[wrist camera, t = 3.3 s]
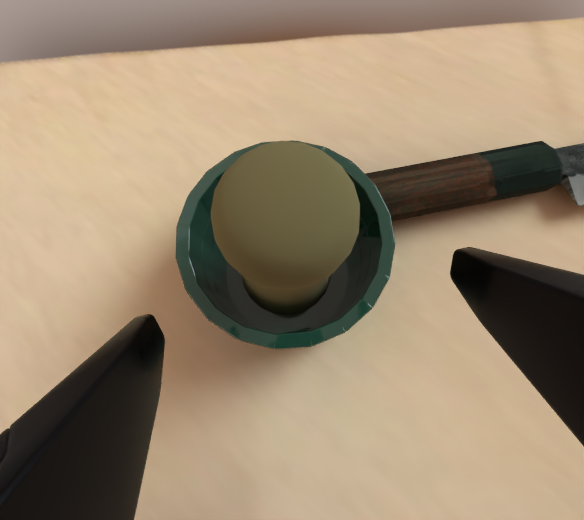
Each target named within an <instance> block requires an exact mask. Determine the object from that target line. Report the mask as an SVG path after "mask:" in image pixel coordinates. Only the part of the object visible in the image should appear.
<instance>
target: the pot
mask: <svg viewBox="0 0 584 520" xmlns="http://www.w3.org/2000/svg"><path fill="white" fill-rule="evenodd" d="M277 142H278V141H277ZM290 142H300V141H290ZM267 143H273V142H264V143H263V142H262V143H259V144H256V145H253V146H250V147H247V148H245V149H242V150H239V151H236V152H234V153H232V154H231V155H229V156H228V157H227V158H225V159H224V160H222V161H221V162H219V163H218V164H217V165H215V166H214V167H212V168H211V169H209V170H208V171H207V172H206V173H205V174H204V176H203V177H202V178H201V180H200V181H199V182H198V183H197V185H196V186H195V187H194V189H193V190H192V191H191V192H190V194H189V195H188V197H187V200H186V202H185V205H184V208H183V210H182V213H181V216H180V219H179V221H178V224H177V234H176V261H177V264H178V267H179V270H180V274H181V277H182V280H183V283H184V286H185V289H186V291H187V293H188V295H189V296H190V297H191V299H192V300H193V301H194V303H195V304H196V305H197V306H198V308H199V309H200V310H201V312H202V313H203V314H204V316H205V317H206V318H207V319H208V320H209V321H210V322H212V323H213V324H215V325H216V326H218V327H219V328H221V329H222V330H224V331H225V332H227V333H228V334H230V335H231V336H233V337H234V338H236V339H238V340H240V341H244V342H248V343H251V344H255V345H259V346H263V347H267V348H271V349H287V348H301V347H311V346H315V345H317V344H319V343H322V342H324V341H326V340H329V339H331V338H333V337H336V336H338V335H340V334H343V333H345V331H348V330H349V329H350V328H351V327H352V326H353V325H355V324H356V323H357V322H358V321H359V320H360V319H361V318H362V317H363V316H365V315H366V314H367V313H368V312H369V311H370V310H371V309H372V307H374V305H375V303H376V302H377V300H378V298H379V296H380V294H381V292H382V291H383V289H384V287H385V285H386V283H387V281H388V280H389V277H390V273H391V267H392V261H393V255H394V249H395V239H394V233H393V227H392V221H391V215H390V212H389V210H388V208H387V206H386V204H385V202H384V200H383V198H382V196H381V195H380V193H379V191H378V189H377V187H376V185H374V183H373V182H372V181H371V180H370V179H369V178H368V177H367V176H366V175H365V174H364V173H363V172H362V171H361V170H360V169H359V168H358V167H357V166H356V165H355V164H354V163H352V161H350V160H349V159H347V158H345V157H343V156H341V155H339V154H337V153H336V152H334V151H332V150H330V149H328V148H326V147H322V146H318V145H313V144H309V143H305V144H307V145H310V146H312V147H315V148H317V149H320V150H322V151H323V152H325V153H326V154H327V155H329V156H330V157H331V158H332V159H334V160H335V161H336V162H338V163H339V164H340V165H341V166H342V167H343V169H344V170H345V171H346V173H347V174H348V176H349V177H350V179H351V180H352V182H353V183H354V186H355V189H356V192H357V196H358V199H359V203H360V219H359V233H358V236H357V238H356V241H355V243H354V246H353V248H352V251H351V253H350V254H349V256H348V257H347V258H346V259H345V260H344V261H343V263H342V264H341V265H340V266H339V267H338V268H337V269H336V271H335V272H334V273H333V274H331V278H330V282H329V285H328V287H327V290H326V292H325V294H324V295H323V296H322V298H321V299H320V300H319V301H318V302H317V303H316V305H314V306H312V307H311V308H309V309H307V310H306V311H304V312H301V313H296V314H292V315H283V314H274V313H272V312H269V311H267V310H265V309H263V308H261V307H260V306H258V305H257V304H256V303H255V302H254V301H253V300H252V299H251V298H250V297H249V295H248V293H247V291H246V289H245V288H244V286H243V281H242V275H241V274H240V273H239V272H238V271H237V270H236V269H235V268H233V267H232V266H231V265H230V264H229V263H228V262H227V261H226V260H225V258H224V256H223V254H222V252H221V251H220V249H219V247H218V245H217V243H216V241H215V239H214V233H213V227H212V221H211V208H212V202H213V196H214V190H215V188H216V186H217V185H218V183H219V181H220V179H221V177H222V175H223V174H224V172H225V171H226V170H227V169H228V168H229V167H230V166H231V165H232V164H233V163H234V162H235V161H236V160H237V159H238V158H239V157H240V156H241V155H243V154H244V153H246V152H248V151H250V150H252V149H254V148H256V147H258V146H260V145H262V144H267ZM300 143H304V142H300Z"/></svg>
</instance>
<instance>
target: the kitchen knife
mask: <svg viewBox="0 0 584 520" xmlns="http://www.w3.org/2000/svg"><path fill="white" fill-rule="evenodd" d="M365 175H366V176H367V177H368V178H369V179H370V180H371V181H372V182H373V183H374V185H376V187H377V189H378V191H379V193H380V195H381V196H382V198H383V200H384V202H385V204H386V206H387V208H388V210H389V212H390V215H391V221H393V220H398V219H403V218H408V217H413V216H419V215H424V214H429V213H434V212H439V211H444V210H449V209H454V208H459V207H464V206H469V205H475V204H480V203H485V202H490V201H495V200H500V199H505V198H510V197H515V196H520V195H525V194H530V193H536V192H541V191H546V190H548V189H550V188H552V187H554V186H555V185H557V184H559V183H561V184H562V185H563V187H564V188H565V189H566V191H567V192H568V193H569V195H570V196H571V198H572V199H573V200H574V202H575V203H576V204H577V206H581V205H584V143H583V144H578V145H573V146H567V147H562V148H557V149H553V148H552V147H550V146H549V145H547V144H546V143H544V142H543V141H539V142H533V143H528V144H522V145H517V146H512V147H506V148H501V149H496V150H490V151H485V152H479V153H474V154H469V155H463V156H458V157H453V158H447V159H442V160H437V161H431V162H426V163H420V164H415V165H410V166H404V167H399V168H394V169H388V170H383V171H377V172H372V173H367V174H365Z"/></svg>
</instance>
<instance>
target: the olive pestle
mask: <svg viewBox="0 0 584 520" xmlns="http://www.w3.org/2000/svg"><path fill="white" fill-rule="evenodd" d="M359 219H360V203H359V199H358V196H357V192H356V189H355V186H354V183H353V182H352V180H351V179H350V177H349V176H348V174H347V173H346V171H345V170H344V169H343V167H342V166H341V165H340V164H339V163H338V162H336V161H335V160H334V159H332V158H331V157H330V156H329V155H327V154H326V153H325V152H323V151H322V150H320V149H317V148H315V147H312V146H310V145H307V144H305V143H300V142H290V141H278V142H273V143H267V144H262V145H260V146H258V147H256V148H254V149H252V150H250V151H248V152H246V153H244V154H243V155H241V156H240V157H239V158H238V159H237V160H236V161H235V162H234V163H233V164H232V165H231V166H230V167H229V168H228V169H227V170H226V171H225V172H224V174H223V175H222V177H221V179H220V181H219V183H218V185H217V186H216V188H215V190H214V196H213V202H212V208H211V221H212V227H213V233H214V239H215V241H216V243H217V245H218V247H219V249H220V251H221V252H222V254H223V256H224V258H225V260H226V261H227V262H228V263H229V264H230V265H231V266H232V267H233V268H235V269H236V270H237V271H238V272H239V273H240V274H241V275H242V281H243V286H244V288H245V289H246V291H247V293H248V295H249V297H250V298H251V299H252V300H253V301H254V302H255V303H256V304H257V305H258V306H260V307H261V308H263V309H265V310H267V311H269V312H272V313H274V314H283V315H292V314H296V313H301V312H304V311H306V310H307V309H309V308H311V307H312V306H314V305H316V303H317V302H318V301H319V300H320V299H321V298H322V296H323V295H324V294H325V292H326V290H327V287H328V285H329V282H330V278H331V274H333V273H334V272H335V271H336V269H337V268H338V267H339V266H340V265H341V264H342V263H343V261H344V260H345V259H346V258H347V257H348V256H349V254H350V253H351V251H352V248H353V246H354V243H355V241H356V238H357V236H358V233H359Z"/></svg>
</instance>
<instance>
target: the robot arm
mask: <svg viewBox="0 0 584 520" xmlns="http://www.w3.org/2000/svg"><path fill="white" fill-rule="evenodd" d="M450 275H451V279H452V281H453V282H454V284H455V285H456V287H457V288H458V290H459V291H460V293H461V294H462V296H463V297H464V299H465V300H466V302H467V303H468V305H469V306H470V308H471V309H472V311H473V312H474V314H475V315H476V317H477V318H478V319H479V321H480V322H481V323H482V324H483V326H484V327H485V328H486V329H487V331H488V332H489V333H490V334H491V335H492V337H493V338H494V339H495V340H496V341H497V343H498V344H499V345H500V346H501V347H502V349H503V350H504V351H505V352H506V353H507V355H508V356H509V357H510V358H511V359H512V361H513V362H514V363H515V364H516V365H517V367H518V368H519V369H520V370H521V371H522V373H523V374H524V375H525V376H526V378H527V379H528V380H529V381H530V382H531V384H532V385H533V386H534V387H535V388H536V390H537V391H538V392H539V393H540V394H541V396H542V397H543V398H544V399H545V400H546V402H547V403H548V404H549V405H550V406H551V408H552V409H553V410H554V411H555V412H556V414H557V415H558V416H559V417H560V418H561V420H562V421H563V422H564V423H565V424H566V426H567V427H568V428H569V429H570V430H571V432H572V433H573V434H574V435H575V436H576V438H577V439H578V440H579V441H580V442H581V444H582V445H583V446H584V275H582V274H578V273H574V272H570V271H566V270H562V269H558V268H554V267H550V266H546V265H541V264H537V263H533V262H529V261H525V260H521V259H517V258H513V257H509V256H505V255H501V254H497V253H492V252H488V251H484V250H480V249H476V248H472V247H467V248H462V249H457V250H456V251H455V252H454V254H453V259H452V265H451V271H450ZM164 346H165V338H164V335H163V333H162V331H161V329H160V327H159V325H158V323H157V321H156V319H155V318H154V316H153V315H151V314H148V315H143V316H138V317H136V318H134V319H133V320H132V321H131V322H130V323H129V324H127V325H126V326H125V327H124V328H123V329H122V330H120V331H119V332H118V333H117V334H116V335H115V336H113V337H112V338H111V339H110V340H109V341H108V342H107V343H105V344H104V345H103V346H102V347H101V348H100V349H98V350H97V351H96V352H95V353H94V354H93V355H92V356H90V357H89V358H88V359H87V360H86V361H85V362H83V363H82V364H81V365H80V366H79V367H78V368H76V369H75V370H74V371H73V372H72V373H71V374H70V375H68V376H67V377H66V378H65V379H64V380H63V381H61V382H60V383H59V384H58V385H57V386H56V387H54V388H53V389H52V390H51V391H50V392H49V393H48V394H46V395H45V396H44V397H43V398H42V399H41V400H39V401H38V402H37V403H36V404H35V405H34V406H33V407H31V408H30V409H29V410H28V411H27V412H26V413H24V414H23V415H22V416H21V417H20V418H19V419H17V420H16V421H15V422H14V423H13V424H12V425H11V426H10V428H8V429H6V430H5V431H3V432H2V433H1V434H0V520H134V517H135V512H136V507H137V502H138V498H139V493H140V488H141V483H142V478H143V473H144V469H145V464H146V459H147V454H148V449H149V445H150V440H151V435H152V430H153V425H154V420H155V416H156V411H157V406H158V401H159V396H160V389H161V380H162V368H163V357H164Z"/></svg>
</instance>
